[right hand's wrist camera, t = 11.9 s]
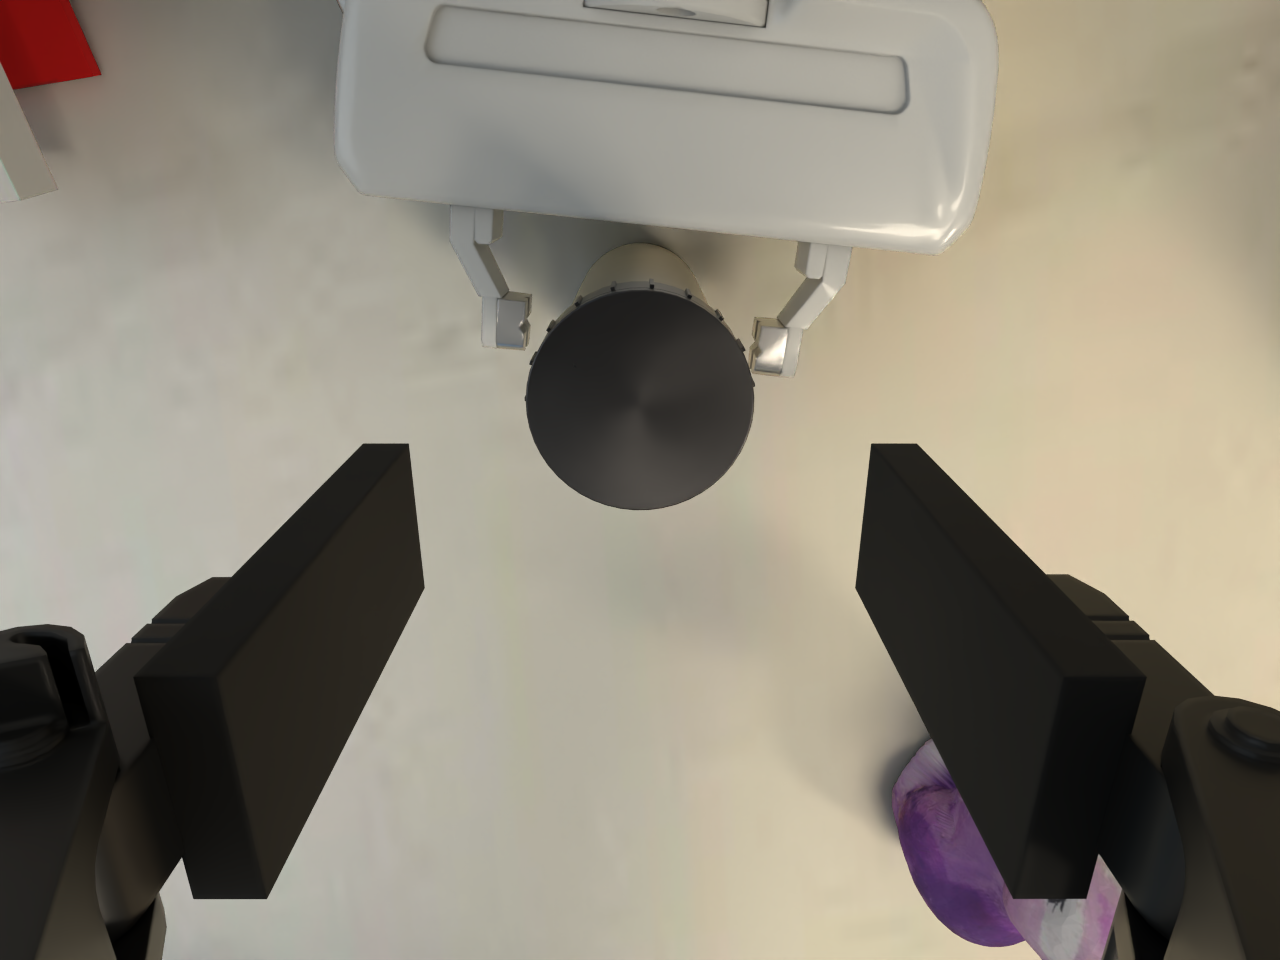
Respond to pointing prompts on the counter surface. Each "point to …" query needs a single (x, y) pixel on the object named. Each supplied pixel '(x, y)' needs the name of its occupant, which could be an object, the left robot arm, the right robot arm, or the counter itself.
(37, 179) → the toy
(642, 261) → the thermos bottle
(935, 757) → the figurine
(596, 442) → the lid
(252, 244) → the counter surface
